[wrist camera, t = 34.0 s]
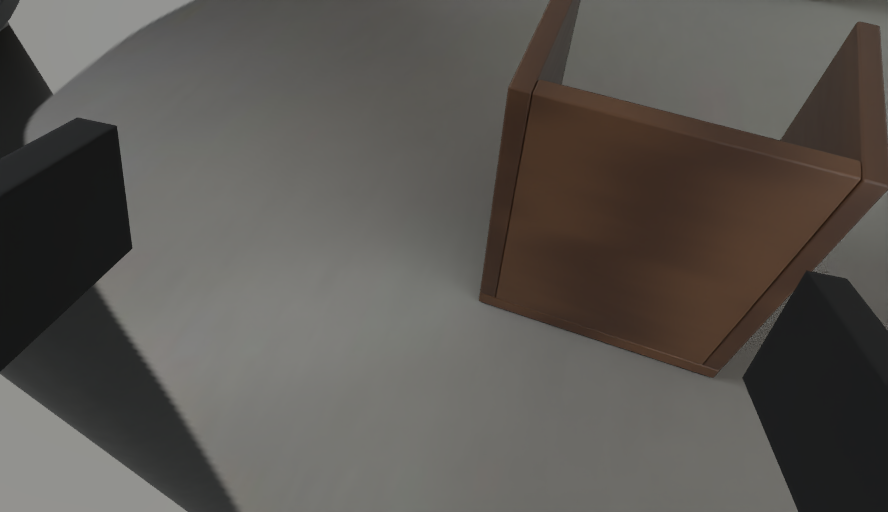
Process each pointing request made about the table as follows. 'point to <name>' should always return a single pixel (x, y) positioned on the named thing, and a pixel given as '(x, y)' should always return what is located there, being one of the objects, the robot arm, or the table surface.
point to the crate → (673, 204)
